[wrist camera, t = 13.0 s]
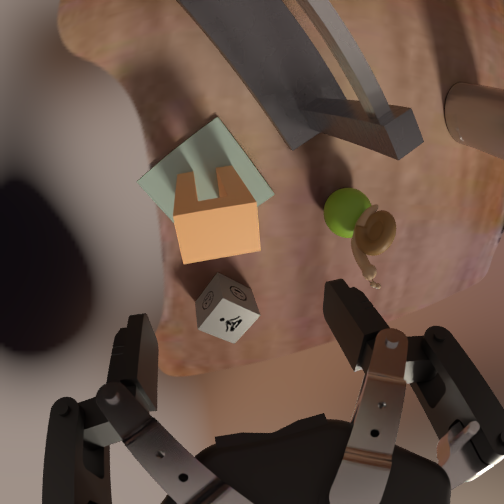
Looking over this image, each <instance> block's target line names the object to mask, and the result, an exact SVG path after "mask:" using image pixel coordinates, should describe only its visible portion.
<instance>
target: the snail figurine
mask: <svg viewBox="0 0 504 504" xmlns="http://www.w3.org/2000/svg"><path fill="white" fill-rule="evenodd" d="M377 209H378V205H373V206H371V203H370V201H369V199H368V198H367V197H366V196H365V195H364V194H363V193H362V192H361V191H359V190H357V189H353V188H342V189H339V190H337V191H335V192H333V193H332V194H331V195H330V196H329V197H328V199H327V201H326V203H325V206H324V219H325V222H326V224H327V226H328V227H329V229H330V230H331V231H332V232H333V233H335V234H336V235H338V236H341V237H345V238H352V240H351V247H352V252H353V255H354V257H355V260H356V262H357V264H358V266H359V267H360V269H361V270H362V274H363V276H364V277H365V279H366V280H372V281H373V278H374V277H375V276H376V268H375V266H373V265H371V264H370V262H369V260H368V258H367V256H366V254H367V255H372V256H375V255H379V254H381V253H383V252H384V251H386V250H387V249H388V248H389V247H390V245H391V244H392V242H393V240H394V237H395V234H396V223H395V220H394V217H393V216H392V215H391V214H390V213H389V212H387V211H383V210H381V211H377ZM376 211H377V212H376ZM369 282H370V281H369ZM370 286H371V287H373V288H374V287H375V288H377V289H380V287H381V285H380V284H379V283H377V284H376V283H375V282H374V281H373V282H370Z"/></svg>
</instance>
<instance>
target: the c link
mask: <svg viewBox="0 0 504 504" xmlns="http://www.w3.org/2000/svg"><path fill="white" fill-rule="evenodd" d="M216 173H217V181H218V188H219V196H220V197H219V198H213V199H207V200H202V201H198V197H197V191H196V184H195V178H194V171H192V172H187V173H181V174H177V181H176V190H175V200H174V210H173V219H174V224H175V228H176V233H177V238H178V242H179V247H180V251H181V255H182V260H183V264H189V263H194V262H200V261H206V260H211V259H217V258H222V257H228V256H234V255H239V254H245V253H250V252H256V251H261V249H260V236H259V224H258V212H257V202H256V200H255V199H254V197H253V196H252V194H251V193H250V191H249V190H248V188H247V187H246V185H245V184H244V182H243V181H242V179H241V178H240V176H239V175H238V173H237V172H236V170H235V169H234V167H233V166H232V165H231V166H224V167H217V168H216Z"/></svg>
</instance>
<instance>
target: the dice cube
mask: <svg viewBox="0 0 504 504" xmlns="http://www.w3.org/2000/svg"><path fill="white" fill-rule="evenodd" d="M195 305H196V316H197V326H198V330H201V331H203V332H206V333H208V334H211V335H213V336H216V337H218V338H221V339H223V340H226V341H229V342H231V343H234V344H235V343H236V342H237V340H238V339H239V338H240V337H241V336H242V335H243V334H244V333H245V332H246V331H247V330H248V328H249V327H250V326H251V325H252V324H253V323H254V322H255V321H256V320H257V319H258V317H259V316H260V313H259V310H258V307H257V304H256V301H255V298H254V295H253V293H252V290H251V289H250V288H248V287H246V286H244V285H242V284H240V283H238V282H236V281H234V280H232V279H230V278H228V277H226V276H224V275H222V274H220V273H218V272H217V274H216V275H215V276H214V278H213V279H212V280H211V282H210V283H209V284H208V286H207V287H206V288H205V290H204V291H203V292H202V294H201V295H200V296H199V298H198V299H197V300H196V302H195Z"/></svg>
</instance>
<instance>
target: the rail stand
mask: <svg viewBox="0 0 504 504" xmlns="http://www.w3.org/2000/svg"><path fill="white" fill-rule="evenodd" d="M176 1H177V2H178V3H179V4H180V5H181V6H182V7H183V9H184V10H185V11H186V12H187V13H188V14H189V15H190V17H191V18H192V19H193V20H194V21H195V22H196V24H197V25H198V26H199V27H200V28H201V29H202V31H203V32H204V33H205V34H206V35H207V37H208V38H209V39H210V40H211V42H212V43H213V44H214V45H215V46H216V48H217V49H218V50H219V52H220V53H221V54H222V55H223V57H224V58H225V59H226V60H227V62H228V63H229V64H230V66H231V67H232V68H233V69H234V71H235V72H236V73H237V75H238V76H239V77H240V79H241V80H242V81H243V83H244V84H245V85H246V87H247V88H248V90H249V91H250V92H251V94H252V95H253V96H254V98H255V99H256V101H257V102H258V103H259V105H260V106H261V108H262V109H263V111H264V112H265V113H266V115H267V116H268V118H269V119H270V121H271V122H272V124H273V125H274V126H275V128H276V129H277V131H278V132H279V134H280V135H281V137H282V138H283V140H284V141H285V143H286V144H287V146H288V147H289V149H290V150H292V151H293V150H295V149H296V148H298V147H299V146H301V145H302V144H303V143H305V142H306V141H308V140H309V139H311V138H312V137H314V136H315V135H317V134H318V133H320V132H321V133H324V134H327V135H331V136H334V137H337V138H340V139H343V140H346V141H349V142H351V143H354V144H357V145H360V146H363V147H365V148H368V149H371V150H374V151H376V152H379V153H381V154H384V155H386V156H389V157H392V158H394V159H396V160H400V159H401V158H403V157H404V156H405V155H407V154H408V153H409V152H411V151H412V150H413V149H415V148H416V147H418V146H419V145H420V144H422V143H423V142H424V141H423V138H422V135H421V132H420V130H419V127H418V124H417V122H416V119H415V116H414V114H413V111H412V109H411V108H407V107H401V106H395V105H388V102H387V100H386V98H385V96H384V94H383V92H382V90H381V88H380V86H379V84H378V82H377V80H376V78H375V76H374V74H373V72H372V70H371V68H370V66H369V65H368V63H367V61H366V59H365V57H364V55H363V54H362V52H361V50H360V49H359V47H358V45H357V43H356V42H355V40H354V38H353V37H352V35H351V33H350V32H349V30H348V29H347V27H346V26H345V24H344V22H343V21H342V19H341V18H340V16H339V15H338V13H337V12H336V10H335V9H334V8H333V6H332V5H331V3H330V2H329V0H296V1H297V3H298V4H299V5H300V7H301V8H302V9H303V11H304V12H305V13H306V15H307V16H308V17H309V19H310V20H311V22H312V23H313V25H314V26H315V27H316V29H317V30H318V32H319V33H320V35H321V36H322V38H323V39H324V41H325V42H326V44H327V46H328V47H329V49H330V50H331V52H332V54H333V55H334V57H335V58H336V60H337V62H338V63H339V65H340V67H341V68H342V70H343V72H344V74H345V75H346V77H347V79H348V81H349V82H350V84H351V86H352V88H353V90H354V91H355V93H356V95H357V97H358V99H359V101H354V100H347V99H346V97H345V96H344V94H343V92H342V90H341V89H340V87H339V85H338V83H337V82H336V80H335V78H334V76H333V75H332V73H331V71H330V70H329V68H328V67H327V65H326V63H325V62H324V60H323V59H322V57H321V55H320V54H319V52H318V51H317V49H316V48H315V46H314V45H313V43H312V42H311V40H310V39H309V37H308V36H307V34H306V33H305V31H304V30H303V29H302V27H301V26H300V24H299V23H298V22H297V20H296V19H295V18H294V16H293V15H292V13H291V12H290V11H289V10H288V8H287V7H286V6H285V4H284V3H283V2H282V0H176Z"/></svg>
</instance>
